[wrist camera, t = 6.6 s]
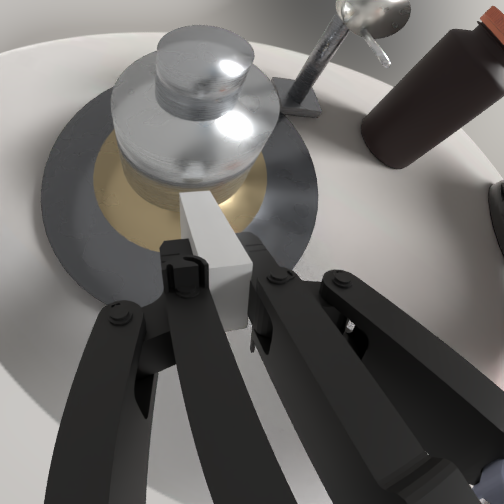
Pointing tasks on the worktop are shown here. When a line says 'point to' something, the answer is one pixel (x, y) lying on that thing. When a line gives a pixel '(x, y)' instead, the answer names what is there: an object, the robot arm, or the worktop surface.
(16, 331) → the worktop surface
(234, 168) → the cover
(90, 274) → the grey plate
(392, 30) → the dial gauge stand
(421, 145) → the bottle
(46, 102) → the worktop surface
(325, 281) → the robot arm
